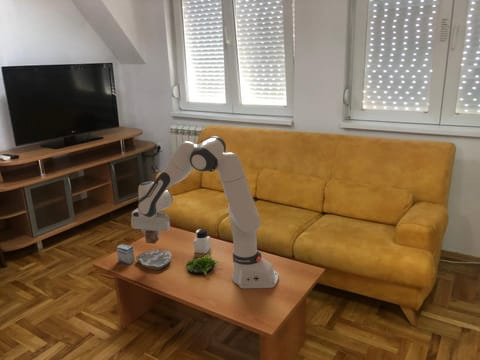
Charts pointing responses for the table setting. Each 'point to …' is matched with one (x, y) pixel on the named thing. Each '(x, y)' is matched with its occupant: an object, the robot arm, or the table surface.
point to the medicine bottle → (202, 241)
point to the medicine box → (125, 254)
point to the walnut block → (151, 236)
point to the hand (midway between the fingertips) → (151, 236)
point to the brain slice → (154, 259)
